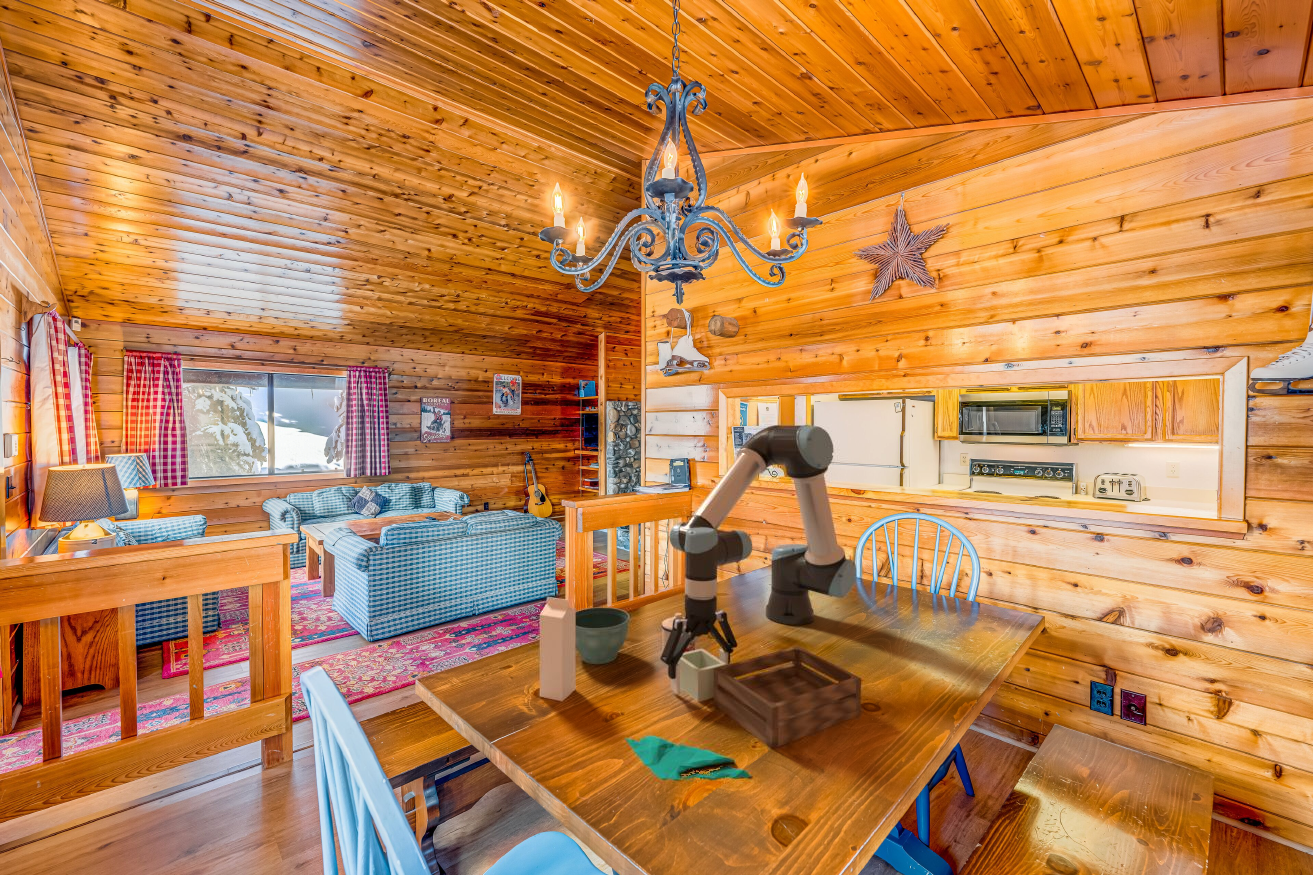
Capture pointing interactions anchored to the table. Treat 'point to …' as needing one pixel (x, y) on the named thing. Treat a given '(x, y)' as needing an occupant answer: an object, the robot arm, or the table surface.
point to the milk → (557, 649)
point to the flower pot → (600, 633)
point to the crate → (786, 695)
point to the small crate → (698, 673)
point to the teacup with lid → (666, 632)
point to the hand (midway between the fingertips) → (699, 684)
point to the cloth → (681, 760)
